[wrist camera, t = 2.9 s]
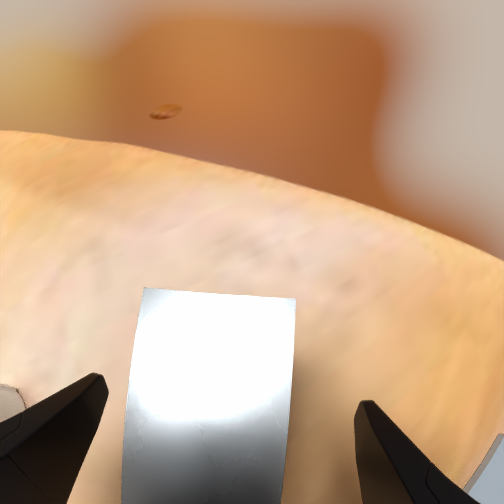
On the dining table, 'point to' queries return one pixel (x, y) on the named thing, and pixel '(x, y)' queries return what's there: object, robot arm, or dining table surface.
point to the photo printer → (10, 402)
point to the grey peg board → (489, 476)
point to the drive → (208, 399)
